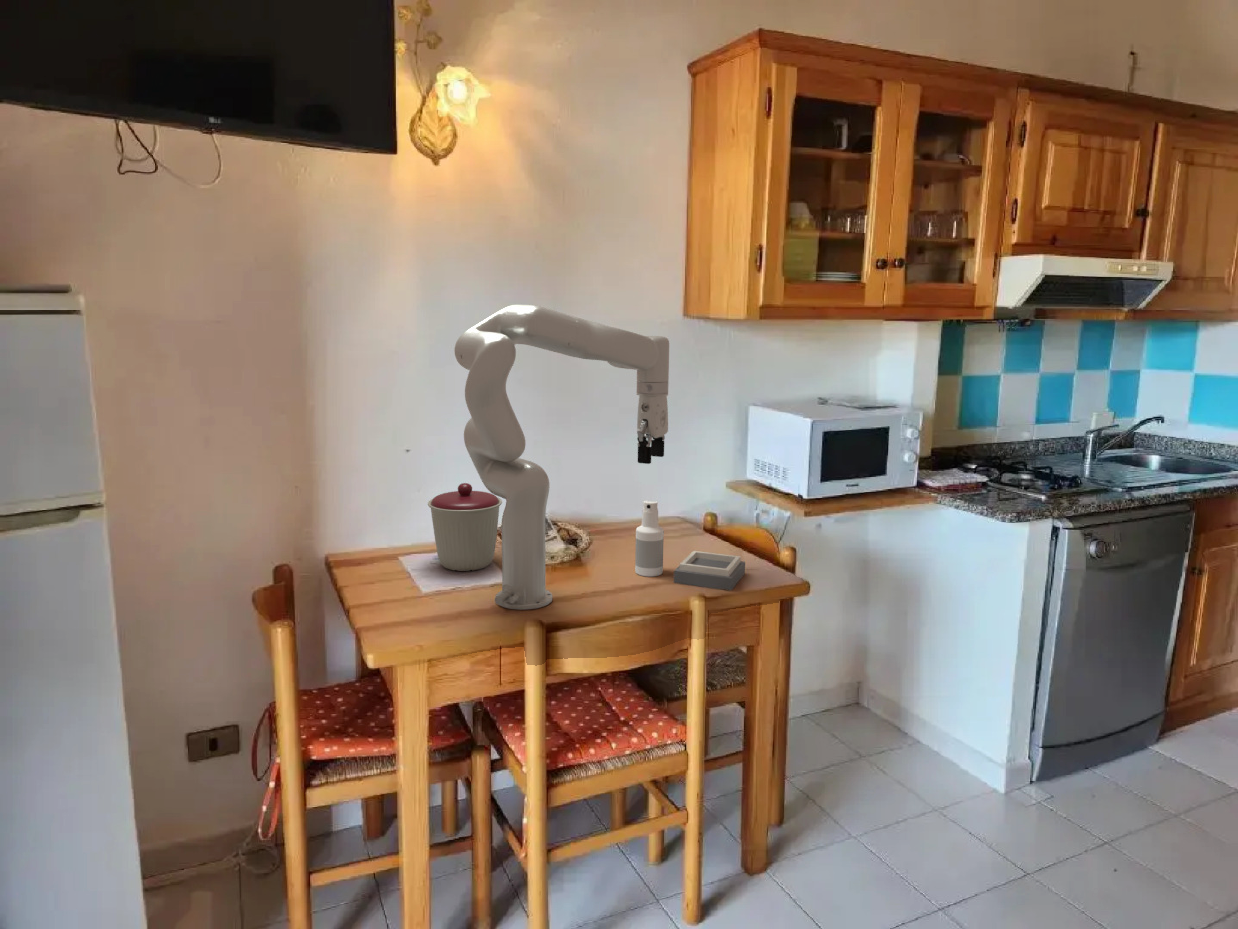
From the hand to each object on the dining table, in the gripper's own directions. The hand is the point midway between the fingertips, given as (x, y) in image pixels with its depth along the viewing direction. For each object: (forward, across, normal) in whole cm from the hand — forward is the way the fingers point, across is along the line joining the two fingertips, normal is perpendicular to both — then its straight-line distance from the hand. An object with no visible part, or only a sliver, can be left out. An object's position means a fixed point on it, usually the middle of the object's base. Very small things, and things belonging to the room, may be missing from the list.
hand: (651, 459), depth 205 cm
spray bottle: (+29, 0, 0) cm, 29 cm away
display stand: (+28, +2, -15) cm, 32 cm away
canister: (+28, -13, +44) cm, 54 cm away
